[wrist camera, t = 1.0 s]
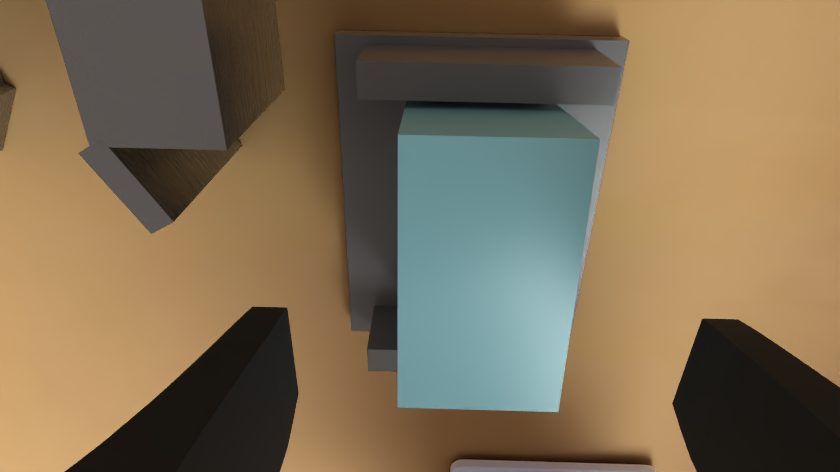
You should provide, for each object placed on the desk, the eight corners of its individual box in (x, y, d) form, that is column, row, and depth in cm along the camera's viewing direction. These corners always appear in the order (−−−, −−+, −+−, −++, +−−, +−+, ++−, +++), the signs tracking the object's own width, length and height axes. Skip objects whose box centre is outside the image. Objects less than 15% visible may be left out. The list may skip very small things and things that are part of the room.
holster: (566, 324, 18) (585, 381, 15) (354, 318, 18) (342, 374, 15) (621, 36, 13) (660, 57, 11) (338, 30, 13) (318, 50, 11)
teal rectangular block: (522, 330, 16) (553, 443, 12) (406, 328, 16) (397, 439, 12) (548, 97, 13) (599, 138, 9) (408, 94, 13) (398, 134, 9)
